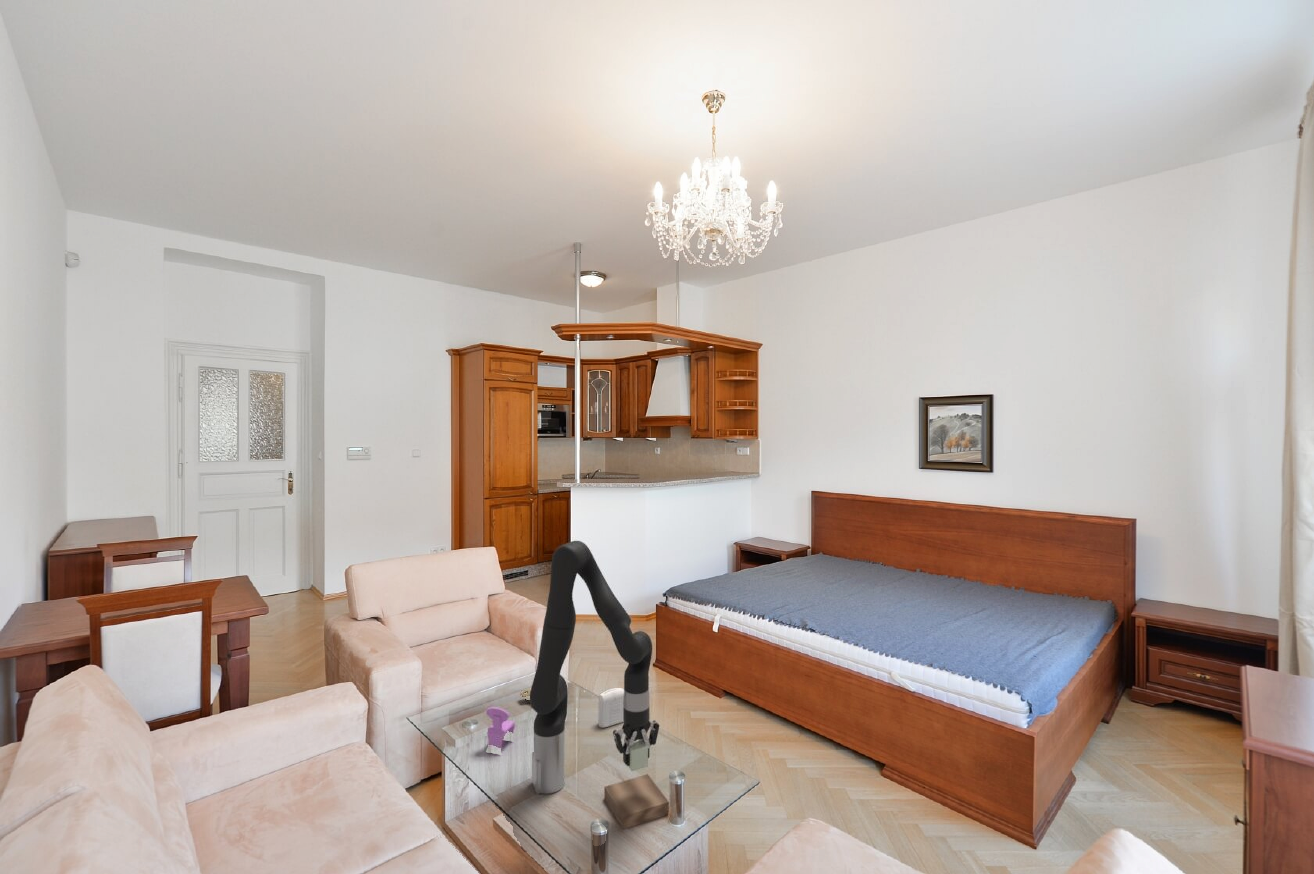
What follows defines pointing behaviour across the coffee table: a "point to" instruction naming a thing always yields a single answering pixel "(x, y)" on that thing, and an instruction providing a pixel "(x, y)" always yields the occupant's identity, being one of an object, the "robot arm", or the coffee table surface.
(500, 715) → the toy chair
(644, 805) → the walnut block
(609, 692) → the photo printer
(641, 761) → the sage block
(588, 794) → the coffee table surface
